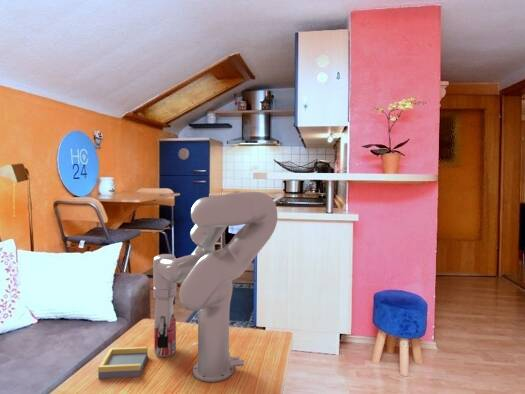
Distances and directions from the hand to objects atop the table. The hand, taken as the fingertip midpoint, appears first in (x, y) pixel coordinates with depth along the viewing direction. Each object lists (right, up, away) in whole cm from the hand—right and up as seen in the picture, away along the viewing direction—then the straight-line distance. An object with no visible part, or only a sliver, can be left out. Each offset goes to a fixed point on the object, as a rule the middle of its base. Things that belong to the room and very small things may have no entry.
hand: (165, 340), depth 127 cm
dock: (-10, -5, -9) cm, 15 cm away
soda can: (0, -5, 0) cm, 5 cm away
